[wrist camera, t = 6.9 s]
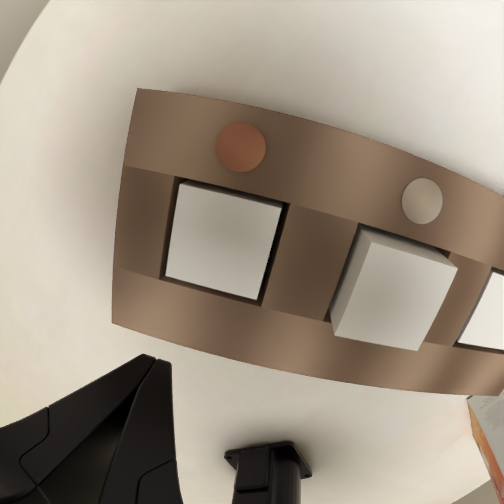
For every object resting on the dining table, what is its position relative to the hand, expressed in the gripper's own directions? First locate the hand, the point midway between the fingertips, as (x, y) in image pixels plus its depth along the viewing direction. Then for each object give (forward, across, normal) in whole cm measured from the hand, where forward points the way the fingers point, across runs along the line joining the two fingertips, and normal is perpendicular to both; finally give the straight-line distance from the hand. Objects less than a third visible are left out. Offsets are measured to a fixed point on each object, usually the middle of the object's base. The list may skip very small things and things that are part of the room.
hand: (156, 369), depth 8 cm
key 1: (+10, -16, -1) cm, 19 cm away
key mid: (+8, -8, -1) cm, 12 cm away
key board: (+11, -8, -1) cm, 14 cm away
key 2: (+10, 0, -1) cm, 10 cm away
